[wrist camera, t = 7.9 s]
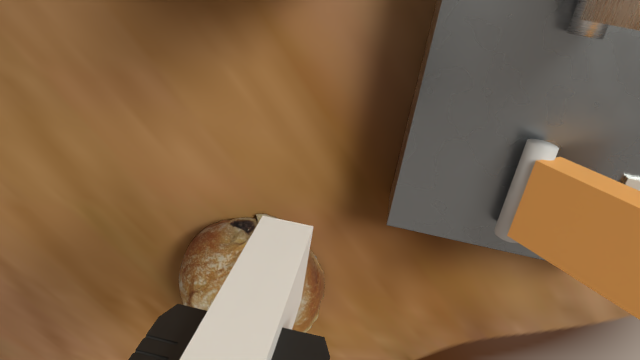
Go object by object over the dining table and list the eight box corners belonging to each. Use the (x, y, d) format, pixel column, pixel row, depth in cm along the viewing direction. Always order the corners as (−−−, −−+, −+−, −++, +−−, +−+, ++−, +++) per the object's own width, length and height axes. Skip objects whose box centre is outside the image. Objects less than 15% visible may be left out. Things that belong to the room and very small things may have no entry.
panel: (389, 194, 29) (376, 325, 18) (471, -143, 21) (536, -278, 10) (618, 243, 27) (757, 420, 16) (794, -100, 20) (1275, -203, 9)
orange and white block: (484, 231, 23) (656, 344, 17) (517, 140, 21) (726, 231, 15) (508, 225, 24) (678, 328, 18) (542, 137, 22) (747, 222, 16)
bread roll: (331, 211, 34) (306, 215, 27) (333, 348, 34) (308, 393, 26) (210, 212, 36) (153, 216, 29) (211, 341, 36) (154, 381, 28)
